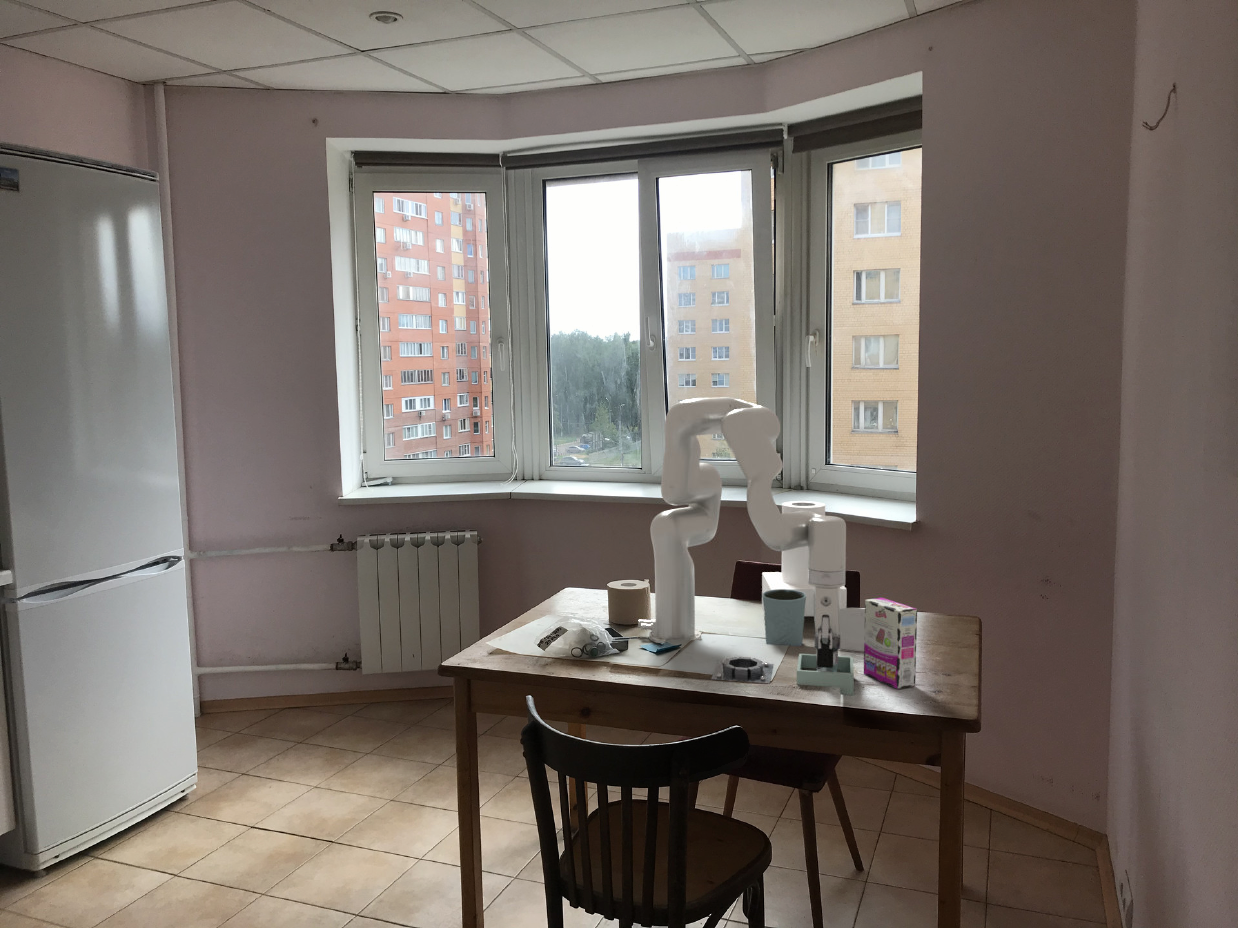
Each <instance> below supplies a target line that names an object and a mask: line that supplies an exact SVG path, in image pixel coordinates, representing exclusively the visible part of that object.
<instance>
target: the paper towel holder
mask: <svg viewBox="0 0 1238 928" xmlns="http://www.w3.org/2000/svg"><path fill="white" fill-rule="evenodd" d="M797 511H811V512H814V513H817V514H819V515H822V516H826V503H824V502H818V501H808V500H804V501H803V500H795V501H793V500H792V501H786V502H782V503H781V514H785V513H791V512H797ZM761 575H762V576H761V586H762V588H761V590H762V591H761V610H762V611H763V614H764V613H765V611H764V605H763V593H764V592H766V591H769V590H775V589H790V590H797V591H800V592H803V593H805V594H806V602H805V611H804V617H814V586H811V585H809V584H808V546H805V547H800V548H795V549H790V550H786V551H781V572H779V571H775V572H772V571H770V572H768V571H767V572H765V571H764V572H762V573H761ZM847 593H848V592H847V587H845V585H844V586H842V587H840V609H843V608H847V596H848V595H847Z"/></svg>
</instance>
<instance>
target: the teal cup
mask: <svg viewBox="0 0 1238 928" xmlns="http://www.w3.org/2000/svg"><path fill="white" fill-rule="evenodd" d="M805 602H806V594H805V593H803V592H800V591H797V590H790V589H775V590H769V591H766V592H764V593H763V605H764V611H765V613H764V612H763V614H764V615H763V616H764V619H763V620H764V630H765V633H764V634H765V642H766V643H765V644H767V645H772V646H787V647H788V646H790V647H791V646H792V647H802V645H803V640H804V632H803V631H804V626H805V625H804V623H805V616H804V611H805Z"/></svg>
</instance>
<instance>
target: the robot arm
mask: <svg viewBox="0 0 1238 928" xmlns="http://www.w3.org/2000/svg"><path fill="white" fill-rule="evenodd" d="M780 433H781V422H780V420H779V417H778V416H777V414H776V413H775V412H774V411H773V410H771V409H770V408H768V407H766V406H763V405H760V404H756V403H752V402H749V401H746V400H741V399H738V398H735V397H728V396H727V397H726V396H725V397H724V396H722V397H721V396H718V397H696V398H689V399H684V400H681V401H678V402H677V403H675V404H673V405H672V407H670V409H669V410H668V412H667V414H666V416H665V421H664V442H665V445H664V454H663V463H662V474H661V483H660V492H661V497H662V500H664V501H665V503H667V504H668V505H672V506H685V505H688V506H687V507H679V508H674V509H672V508H671V509H669V510H663V511H661V512H660V513H658V514H657V515H656V516H654V518H653V519H652V521H651V523H650V529H649V530H650V538H651V545H652V548H653V555H654V557H653V558H654V591H655V592H654V595H655V596H654V597H655V598H654V599H655V602H654V603H655V607H654V609H655V612H654V614H655V618H651V620H650V619H638V623H637V625H638V628H640V629H641V630H649V631H650V632H649V634H648V635H649V636H648V638H649V640H650V641H652V642H653V643H655V644H658V643H664V644H666V642H667V640H669V639H670V640H671V639H672V640H688V641H701V640H702V633H701V632H700V631H699V630H698V629H695V627H696V623H695V621H696V620H695V619H696V617H695V615H696V610H695V609H696V608H695V606H696V605H695V603H696V602H695V599H696V597H695V596H696V595H695V591H696V589H695V587H696V586H695V585H696V584H695V579H696V578H695V577H696V576H695V563H694V561H693V558H692V556H691V554H690V551H689V549H688V548H690V547H695V546H699V545H703V544H704V545H705V544H706V543H708V542H710V541H711V540H712V539H714V537H715V535H716V533H717V531H718V530H717V529H718V526H719V525H718V524H719V518H720V509H721V502H722V493H723V491H722V490H723V482H722V477H721V474H720V473H719V471H718V469H717V468H716V467H715V466H714V465H712V464H710V463H706V462H700V461H701V454H702V451H701V450H702V449H701V445H700V441H699V439H698V437H697V436H705V435H709V436H710V435H719V434H720V435H722V436H723V438H724V440H725V442H726V443H727V446H728V447H729V449H730V451H731V453H732V454H733V457H734V459H735V460H736V462H737V464H738V466H739V467H740V469H741V472H742V473H743V475H744V477H745V480H746V481H747V489H746V505H747V506H746V507H747V512H748V516H749V518H750V521H751V523H752V524H753V527H754V528H755V530H756V532H757V534H758V536H759V537H760V539H761V540H762V542H763V543H764V544H765V545H766V546H767V547H768V548H769V549H771V550H772V551H776V552H782V551H786V550H790V549H795V548H800V547H805V546H808V584H809V585H811V586H814V616H813V620H814V631H815V634H816V633H817V634H818V635H819V643H818V647H817V649H816V652H817V666H818V667H825V668H832V667H833V648H832V636H833V634H836V635H837V636H838V635H839V634H840V587H842V586H844V587H845V585H846V560H847V556H846V555H847V554H846V552H847V549H846V544H847V525H846V524H847V523H846V521H845V520H844V519H843V518H842V517H839V516H835V515H833V516H832V515H825V516H822V515H819V514H817V513H814V512H811V511H797V512H791V513H785V514H782V512H781V511H780V509H779V508H778V506H777V504H776V501H775V500H774V498H773V492H772V484H773V480H774V479H775V478H776V477H778V476H779V474H780V473H781V472H782V470H783V466H784V463H783V460H782V459H781V458H780V456H779V453H778V452H777V450H776V449H775V446H774V445H773V442H775V441H776V440H777V439H778V437H779V435H780ZM821 632H822V633H821ZM828 632H831V633H828ZM832 633H833V634H832ZM821 636H822V638H821ZM828 637H830V639H829V638H828ZM829 644H830V646H829ZM829 647H830V648H829Z"/></svg>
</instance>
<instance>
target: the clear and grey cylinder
mask: <svg viewBox="0 0 1238 928" xmlns="http://www.w3.org/2000/svg"><path fill="white" fill-rule="evenodd" d="M821 633H822V632H821ZM828 633H831V632H828ZM832 634H833V633H832ZM821 638H822V636H821ZM828 638H829V639H830V637H828ZM840 638H841V636H840V635H838V636H837V635H836V634H833V636H832V648H833V667H832V668H825V667H818V666H817V651H816V654H815V655H816V668H815V669H816V670H815V671H824V672H839V670H838V656H839V650H841V649H840ZM818 643H819V635H818V634H817V633H816V632H815V634H814V648H815V649H816V650H817V647H818ZM829 646H830V644H829ZM829 648H830V647H829Z"/></svg>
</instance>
